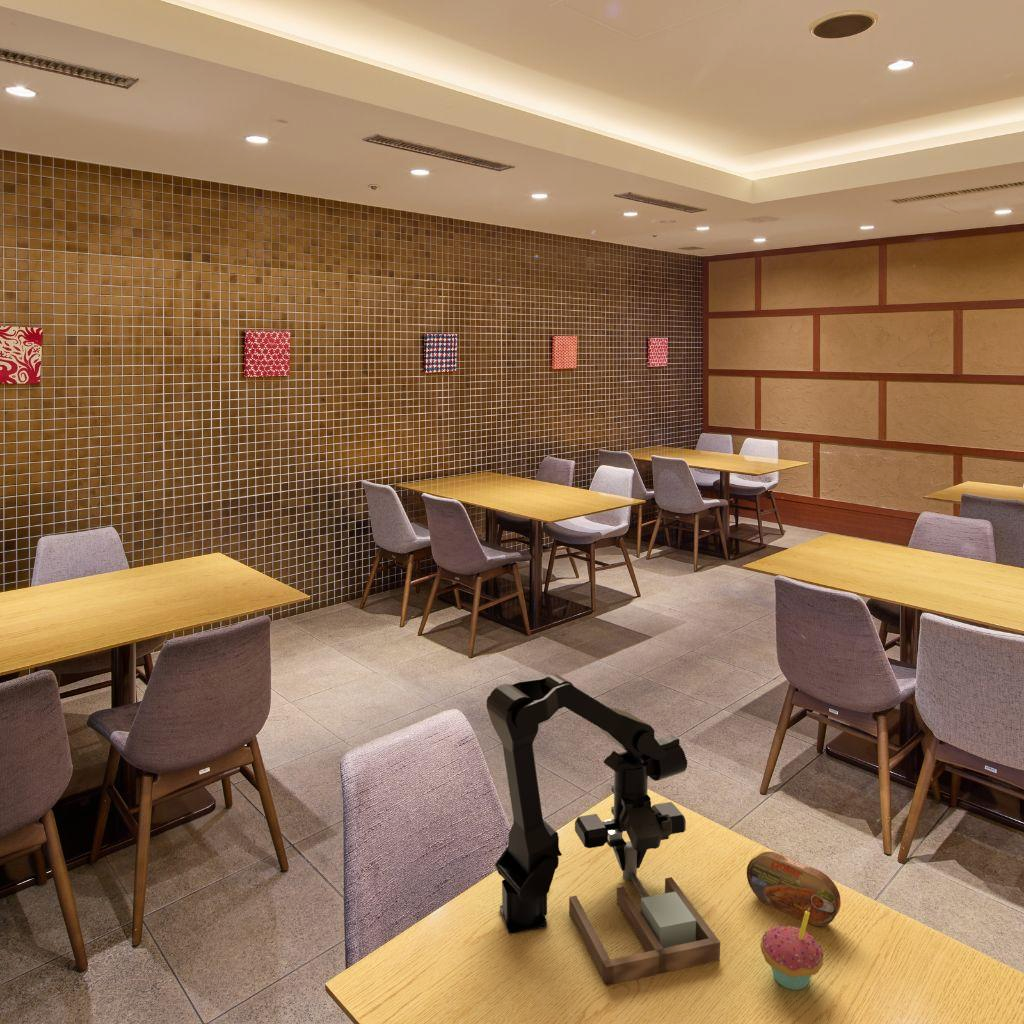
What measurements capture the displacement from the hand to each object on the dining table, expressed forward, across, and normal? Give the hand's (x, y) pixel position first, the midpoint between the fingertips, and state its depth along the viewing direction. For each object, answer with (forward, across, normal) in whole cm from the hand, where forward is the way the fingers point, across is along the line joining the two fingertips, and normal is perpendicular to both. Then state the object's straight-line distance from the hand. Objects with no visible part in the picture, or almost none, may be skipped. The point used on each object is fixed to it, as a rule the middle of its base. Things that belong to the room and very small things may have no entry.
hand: (629, 868), depth 136 cm
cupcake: (+2, +13, -28) cm, 31 cm away
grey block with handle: (+2, 0, -9) cm, 9 cm away
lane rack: (+2, -4, -14) cm, 15 cm away
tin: (+2, +22, -15) cm, 27 cm away
